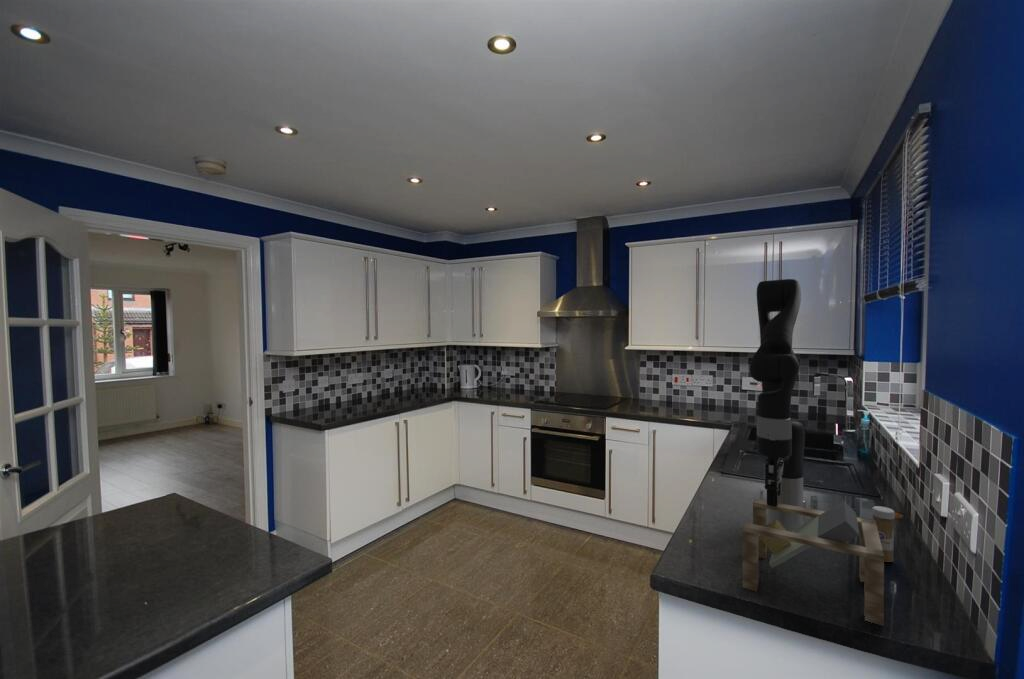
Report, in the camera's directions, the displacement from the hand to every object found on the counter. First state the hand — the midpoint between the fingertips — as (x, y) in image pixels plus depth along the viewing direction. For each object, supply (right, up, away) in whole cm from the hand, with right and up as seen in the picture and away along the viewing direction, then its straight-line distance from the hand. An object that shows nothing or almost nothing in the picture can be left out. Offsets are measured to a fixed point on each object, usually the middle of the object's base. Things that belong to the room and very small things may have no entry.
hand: (773, 500), depth 114 cm
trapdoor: (+8, -9, -5) cm, 13 cm away
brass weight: (+2, -11, -1) cm, 11 cm away
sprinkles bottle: (+33, -18, +7) cm, 38 cm away
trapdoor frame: (+6, -19, -4) cm, 20 cm away
